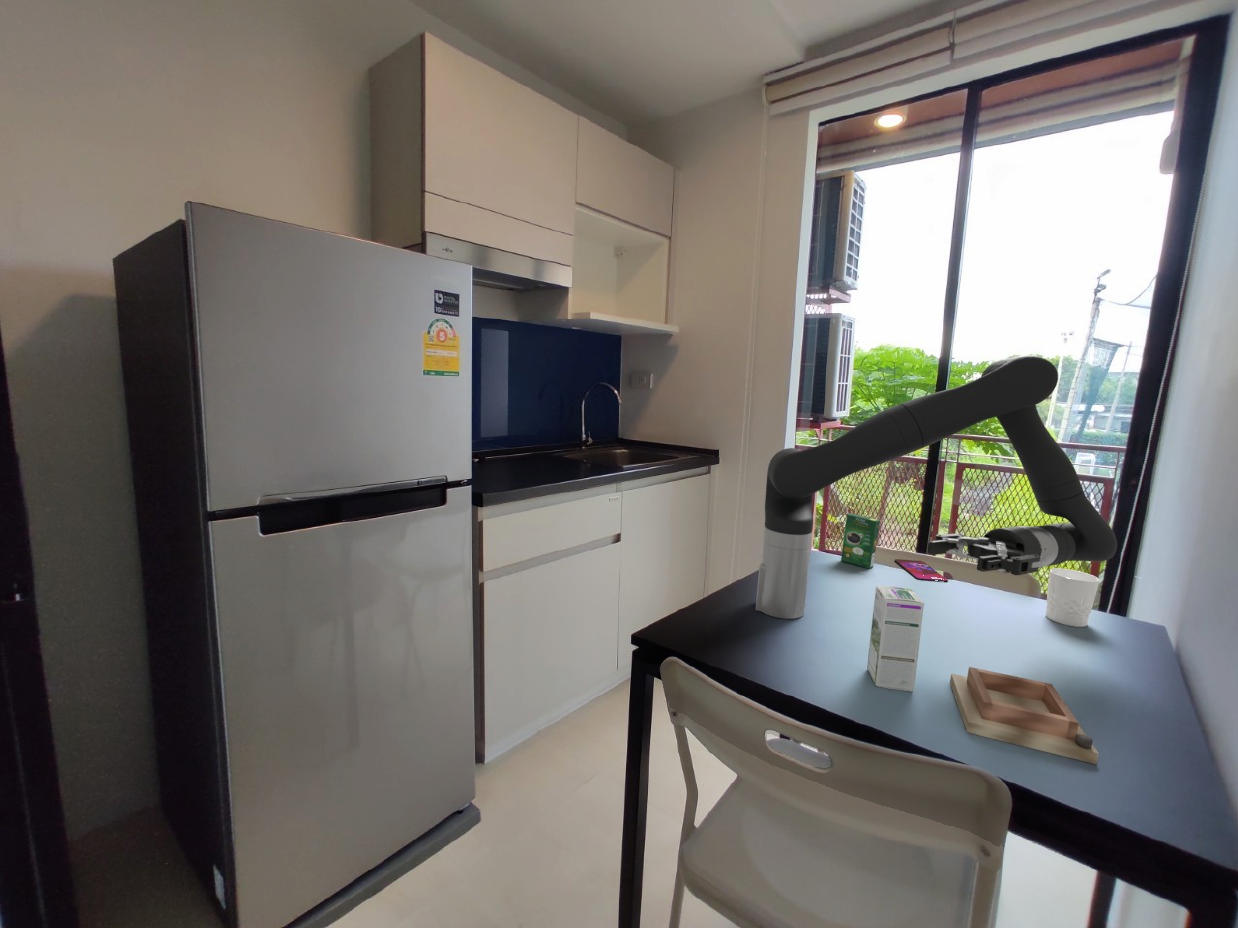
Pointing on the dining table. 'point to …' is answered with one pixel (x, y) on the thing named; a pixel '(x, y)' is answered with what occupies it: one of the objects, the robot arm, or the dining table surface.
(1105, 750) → the dining table surface
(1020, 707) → the wooden cradle
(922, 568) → the smartphone
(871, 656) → the syrup box
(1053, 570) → the white cup
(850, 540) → the coffee box
